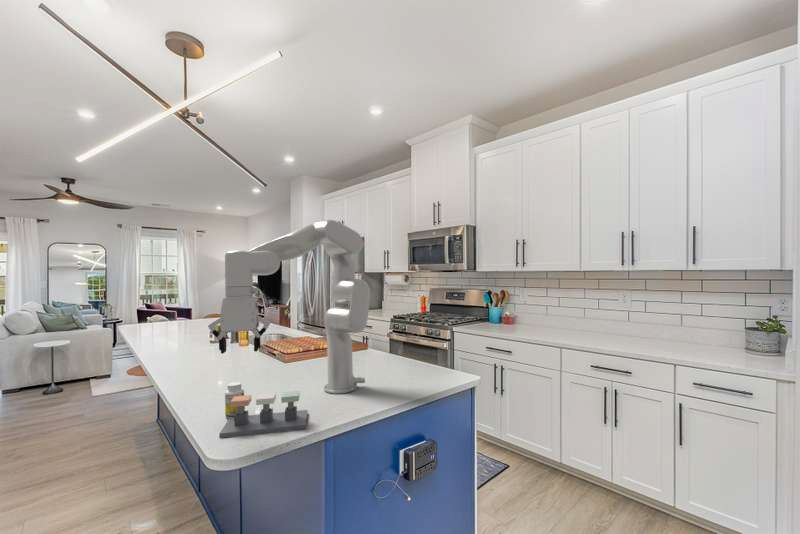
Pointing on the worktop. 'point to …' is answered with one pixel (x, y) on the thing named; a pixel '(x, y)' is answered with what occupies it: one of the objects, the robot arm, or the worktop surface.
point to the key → (240, 403)
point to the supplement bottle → (232, 391)
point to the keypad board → (264, 422)
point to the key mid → (266, 400)
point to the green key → (290, 398)
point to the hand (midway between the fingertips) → (240, 351)
